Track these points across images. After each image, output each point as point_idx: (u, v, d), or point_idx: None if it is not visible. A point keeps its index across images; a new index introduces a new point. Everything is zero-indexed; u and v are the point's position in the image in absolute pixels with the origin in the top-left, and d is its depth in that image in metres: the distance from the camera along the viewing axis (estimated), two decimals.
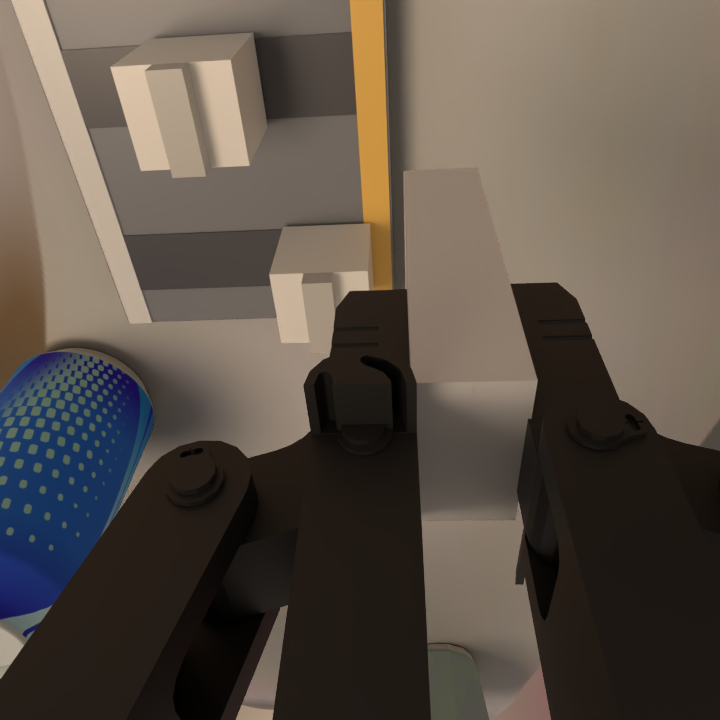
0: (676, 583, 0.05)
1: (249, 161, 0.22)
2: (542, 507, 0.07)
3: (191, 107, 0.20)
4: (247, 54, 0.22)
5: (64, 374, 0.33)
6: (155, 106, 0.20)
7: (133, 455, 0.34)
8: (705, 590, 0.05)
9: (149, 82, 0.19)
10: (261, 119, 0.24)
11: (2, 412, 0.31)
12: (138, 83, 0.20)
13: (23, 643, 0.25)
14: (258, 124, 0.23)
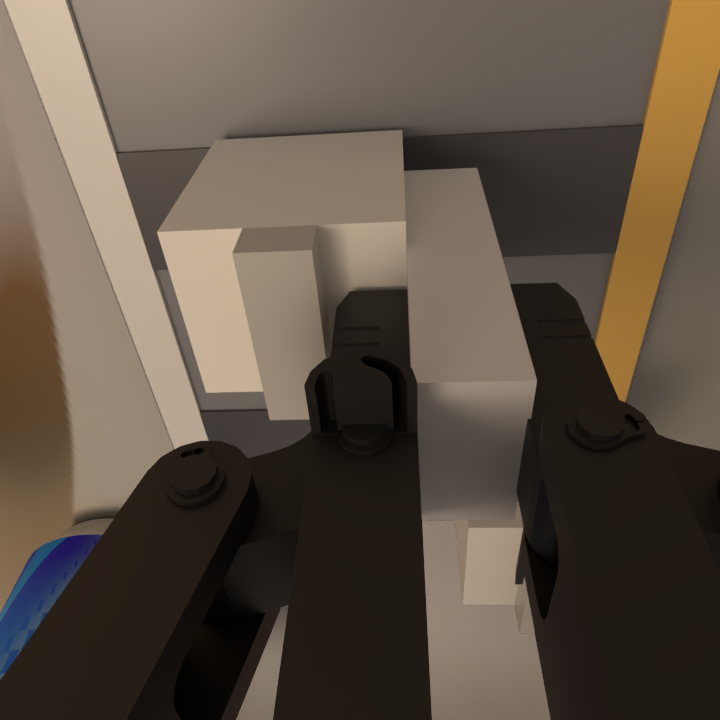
0: (675, 583, 0.05)
1: None
2: (542, 507, 0.07)
3: (321, 313, 0.10)
4: None
5: None
6: (247, 312, 0.10)
7: None
8: (704, 590, 0.05)
9: (241, 273, 0.09)
10: None
11: (14, 656, 0.21)
12: (211, 259, 0.10)
13: None
14: None
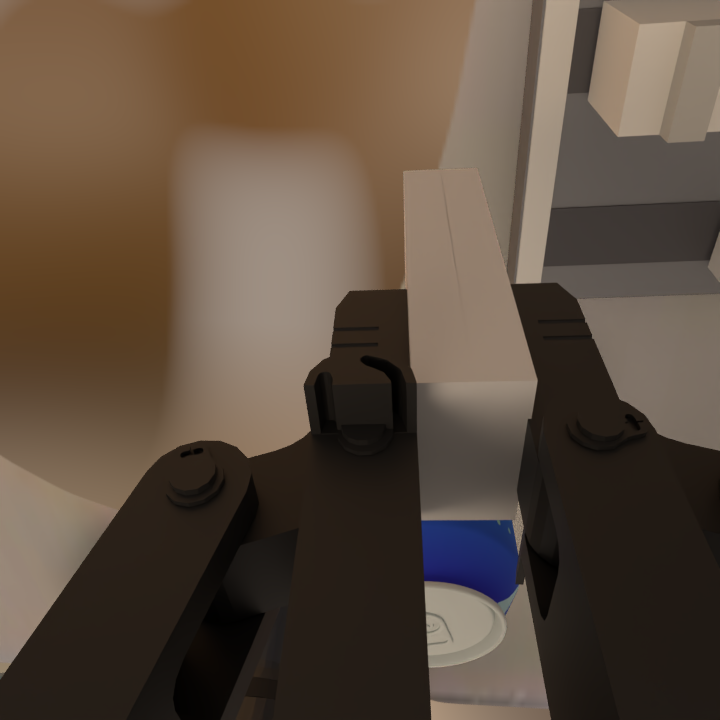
0: (676, 583, 0.05)
1: None
2: (542, 507, 0.07)
3: None
4: None
5: None
6: (688, 64, 0.19)
7: None
8: (705, 590, 0.05)
9: (695, 39, 0.18)
10: None
11: None
12: (661, 42, 0.19)
13: (506, 629, 0.24)
14: None
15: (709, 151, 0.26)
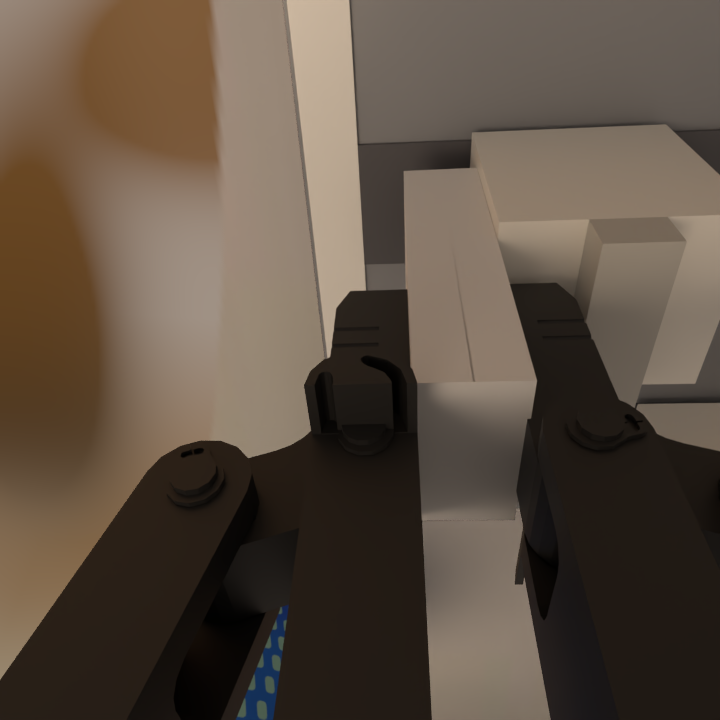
0: (676, 583, 0.05)
1: (693, 374, 0.12)
2: (542, 507, 0.07)
3: (662, 305, 0.10)
4: None
5: None
6: (592, 304, 0.10)
7: None
8: (705, 590, 0.05)
9: (603, 264, 0.09)
10: None
11: None
12: (544, 251, 0.10)
13: None
14: None
15: None
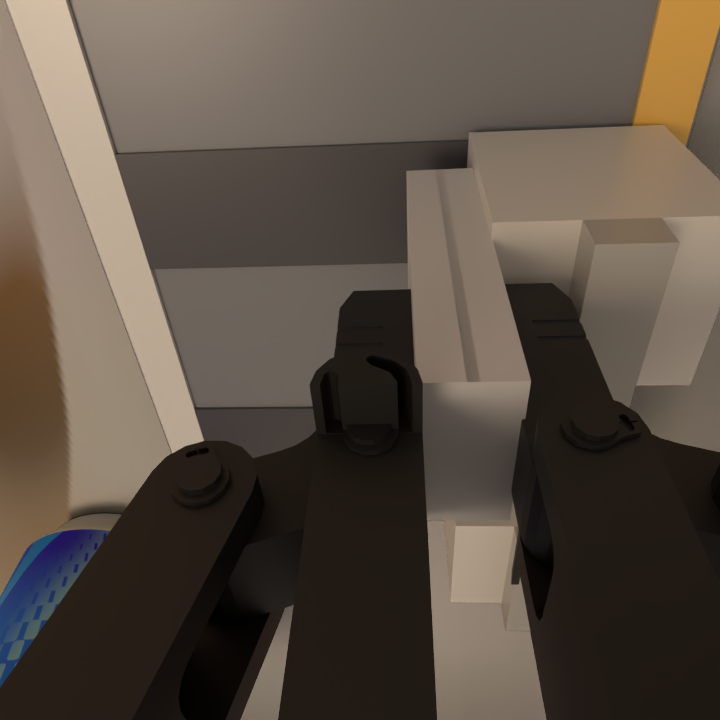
0: (670, 583, 0.05)
1: (688, 375, 0.12)
2: (537, 508, 0.07)
3: (656, 306, 0.10)
4: None
5: None
6: (586, 305, 0.10)
7: None
8: (698, 590, 0.05)
9: (596, 265, 0.09)
10: None
11: (8, 648, 0.21)
12: (538, 251, 0.10)
13: None
14: None
15: None
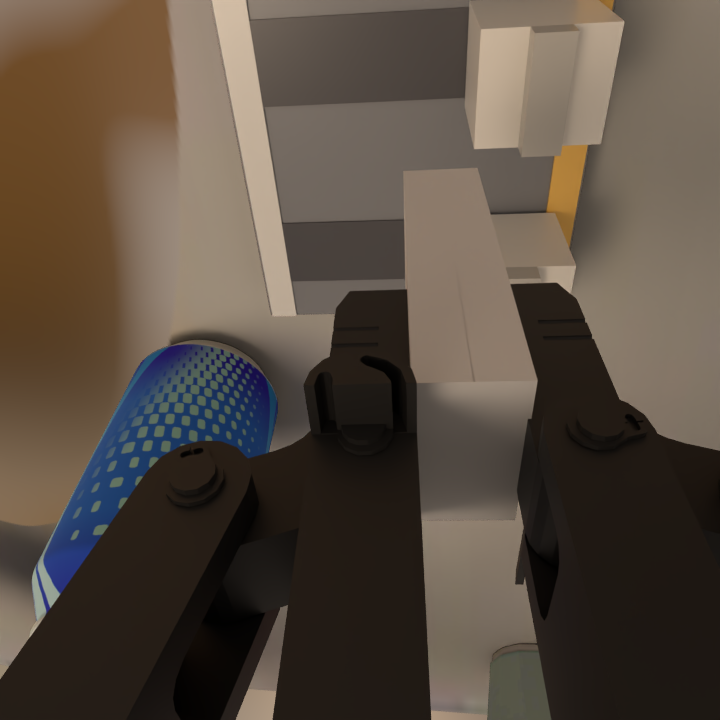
0: (676, 583, 0.05)
1: (600, 139, 0.19)
2: (542, 507, 0.07)
3: (571, 76, 0.18)
4: None
5: (199, 368, 0.31)
6: (531, 74, 0.17)
7: None
8: (705, 590, 0.05)
9: (536, 46, 0.17)
10: None
11: (143, 408, 0.29)
12: (507, 48, 0.18)
13: None
14: None
15: (426, 167, 0.25)
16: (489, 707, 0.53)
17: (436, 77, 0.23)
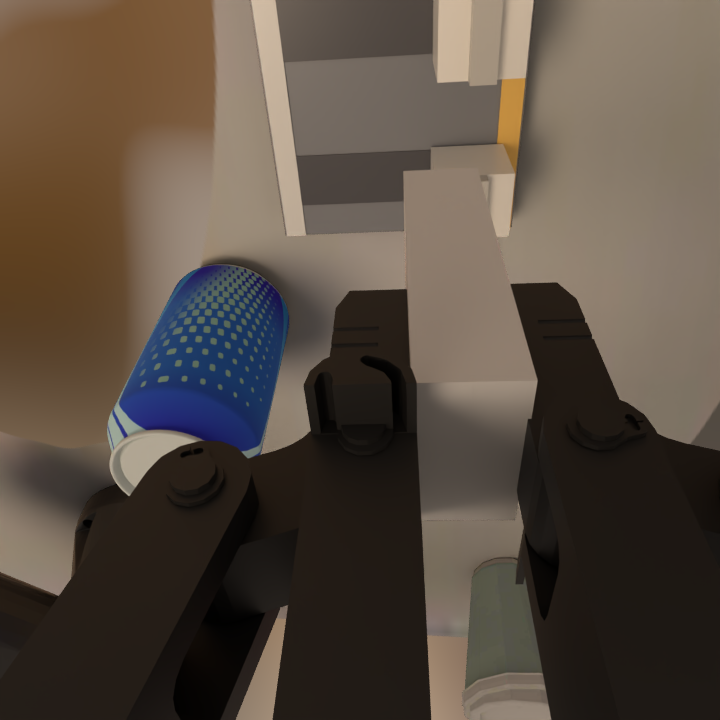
0: (676, 583, 0.05)
1: (525, 74, 0.28)
2: (542, 507, 0.07)
3: (500, 26, 0.26)
4: None
5: (228, 281, 0.39)
6: (473, 25, 0.26)
7: (281, 352, 0.40)
8: (705, 590, 0.05)
9: (475, 5, 0.25)
10: None
11: (186, 306, 0.37)
12: (456, 8, 0.26)
13: None
14: None
15: (405, 109, 0.33)
16: (471, 611, 0.61)
17: (411, 38, 0.31)
